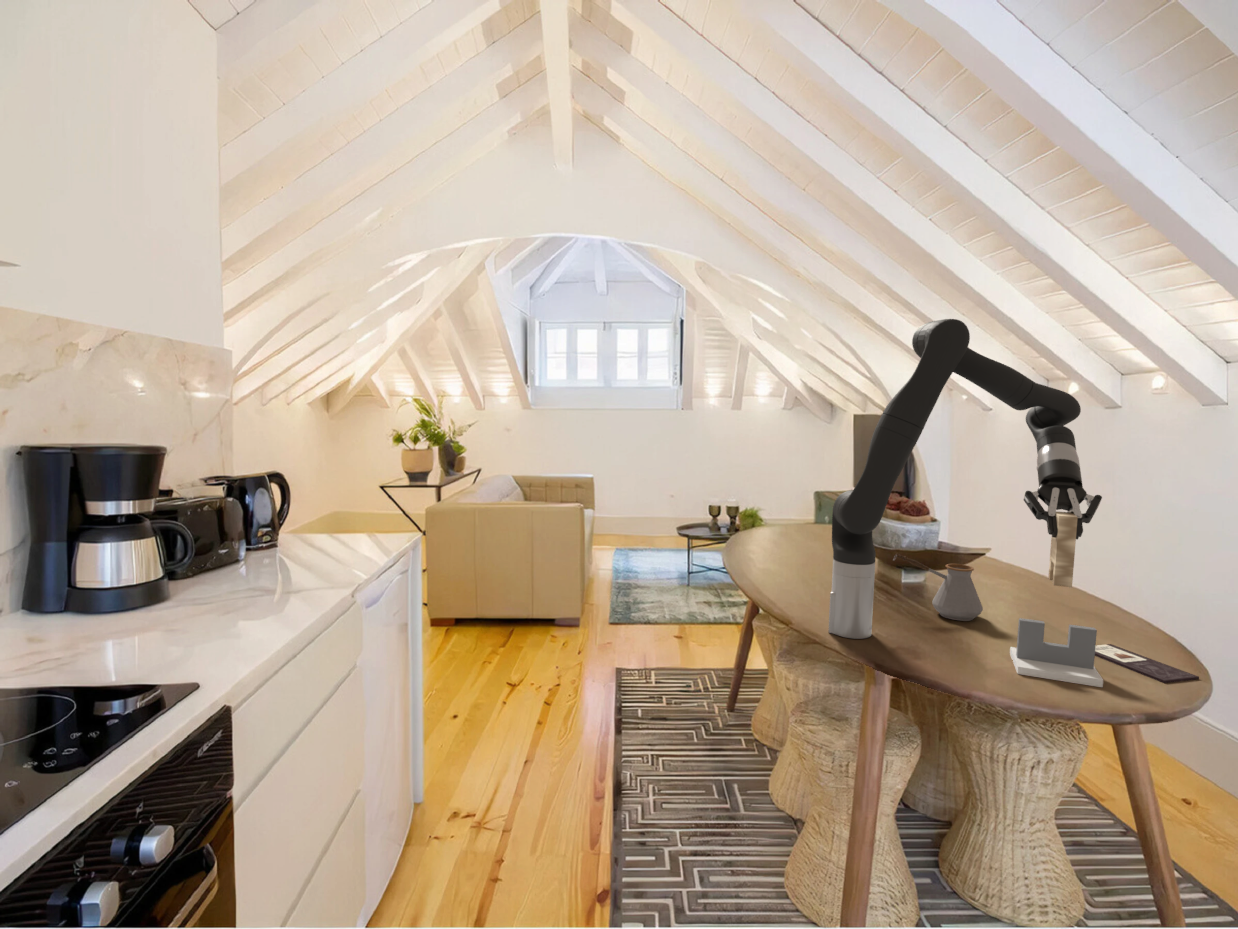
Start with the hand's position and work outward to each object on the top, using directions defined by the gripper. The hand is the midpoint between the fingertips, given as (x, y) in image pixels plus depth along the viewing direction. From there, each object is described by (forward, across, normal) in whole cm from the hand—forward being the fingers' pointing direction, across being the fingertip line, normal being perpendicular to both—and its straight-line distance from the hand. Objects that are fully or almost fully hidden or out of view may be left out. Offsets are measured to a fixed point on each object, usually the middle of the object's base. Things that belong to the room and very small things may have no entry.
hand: (1065, 535), depth 128 cm
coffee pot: (-2, -21, +42) cm, 47 cm away
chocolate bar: (+11, +16, +30) cm, 36 cm away
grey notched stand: (+18, 0, +21) cm, 28 cm away
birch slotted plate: (+6, 0, +8) cm, 10 cm away
